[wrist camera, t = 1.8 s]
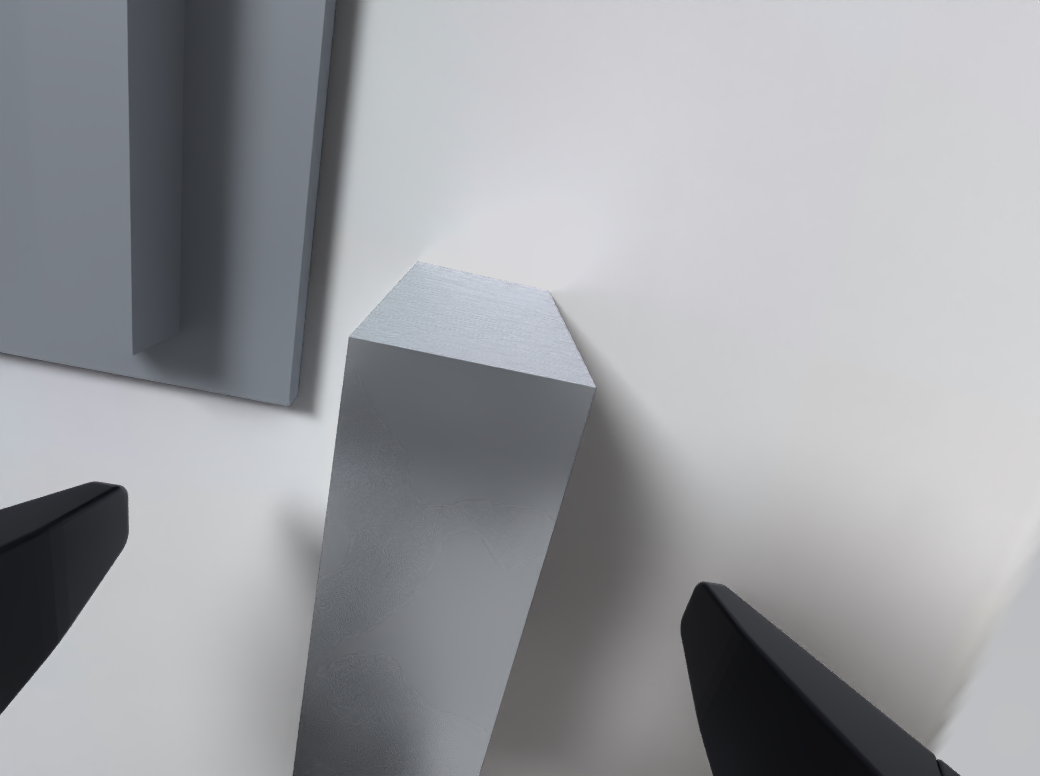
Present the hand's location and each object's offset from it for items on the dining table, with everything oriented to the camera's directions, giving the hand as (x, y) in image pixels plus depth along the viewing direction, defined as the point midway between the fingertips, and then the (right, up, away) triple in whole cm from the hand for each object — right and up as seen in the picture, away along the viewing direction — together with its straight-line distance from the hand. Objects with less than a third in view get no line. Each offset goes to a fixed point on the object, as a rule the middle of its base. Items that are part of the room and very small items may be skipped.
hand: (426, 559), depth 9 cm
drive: (0, +1, +3) cm, 3 cm away
